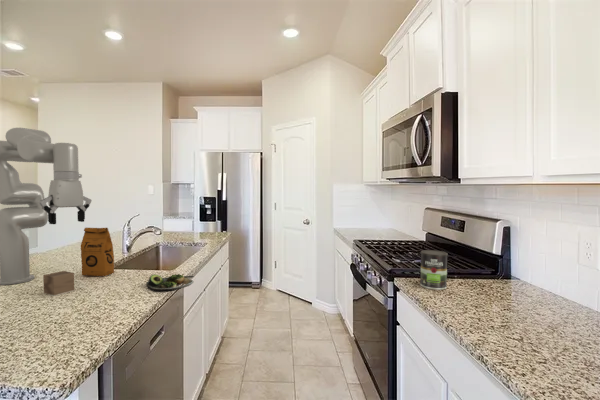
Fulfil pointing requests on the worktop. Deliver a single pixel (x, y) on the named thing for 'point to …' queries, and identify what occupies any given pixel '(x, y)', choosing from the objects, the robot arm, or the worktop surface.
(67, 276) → the letter block
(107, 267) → the coffee package
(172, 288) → the salad plate
